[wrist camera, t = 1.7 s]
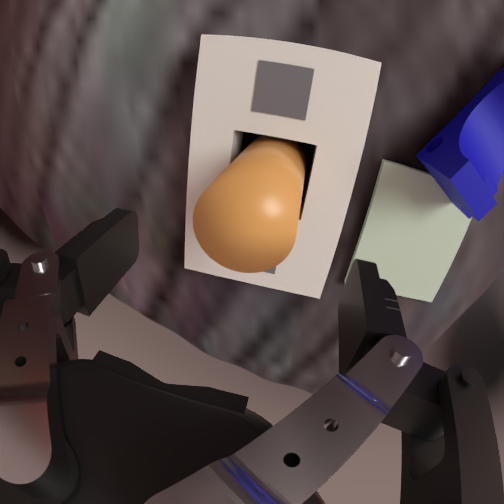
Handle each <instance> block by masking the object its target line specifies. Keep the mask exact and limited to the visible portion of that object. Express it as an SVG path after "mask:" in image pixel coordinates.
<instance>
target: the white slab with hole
mask: <svg viewBox="0 0 504 504" xmlns="http://www.w3.org/2000/svg"><path fill="white" fill-rule="evenodd" d="M380 68H381V63H380V62H377V61H373V60H370V59H366V58H362V57H359V56H355V55H351V54H347V53H342V52H338V51H334V50H329V49H324V48H319V47H314V46H309V45H303V44H297V43H291V42H284V41H277V40H269V39H261V38H251V37H240V36H226V35H203V34H201V42H200V49H199V57H198V66H197V74H196V83H195V93H194V103H193V113H192V125H191V137H190V150H189V165H188V181H187V201H186V226H185V267H184V268H187V269H191V270H195V271H199V272H203V273H208V274H212V275H216V276H220V277H225V278H229V279H233V280H238V281H242V282H246V283H251V284H255V285H260V286H264V287H269V288H273V289H278V290H282V291H287V292H291V293H296V294H301V295H305V296H310V297H315V298H320V296H321V293H322V290H323V287H324V284H325V281H326V278H327V275H328V272H329V269H330V266H331V262H332V259H333V256H334V253H335V250H336V246H337V243H338V240H339V236H340V233H341V230H342V226H343V223H344V219H345V216H346V213H347V209H348V205H349V202H350V198H351V195H352V191H353V187H354V183H355V180H356V176H357V172H358V168H359V164H360V160H361V156H362V152H363V148H364V144H365V140H366V135H367V131H368V127H369V122H370V118H371V113H372V109H373V104H374V99H375V94H376V89H377V84H378V79H379V74H380ZM244 132H250V133H256V134H262V135H267V136H273V137H278V138H284V139H289V140H294V141H299V142H304V143H308V144H313V145H315V149H314V154H313V159H312V163H311V168H310V173H309V178H308V182H307V187H306V192H305V196H304V201H303V202H301V207H300V214H299V221H298V227H297V234H296V240H295V243H294V246H293V248H292V250H291V252H290V254H289V255H288V256H287V257H286V259H285V260H284V261H282V262H281V263H280V264H279V265H277V266H275V267H274V268H272V269H269V270H266V271H263V272H258V273H242V272H237V271H233V270H230V269H227V268H225V267H223V266H221V265H219V264H218V263H216V262H215V261H214V260H212V259H211V258H210V257H209V256H208V255H207V254H206V253H205V252H204V251H203V249H202V248H201V246H200V245H199V243H198V241H197V239H196V237H195V233H194V230H193V211H194V208H195V205H196V203H197V200H198V199H199V197H200V196H201V194H202V193H203V192H204V191H205V190H206V189H207V188H208V187H209V186H210V185H211V184H212V183H213V181H214V180H215V179H216V178H217V177H218V176H219V175H220V174H221V173H222V172H223V171H224V170H225V169H226V168H227V167H228V166H229V165H230V164H231V163H232V162H233V161H234V160H235V159H236V158H237V157H238V156H239V155H240V154H241V148H242V141H243V133H244Z"/></svg>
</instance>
